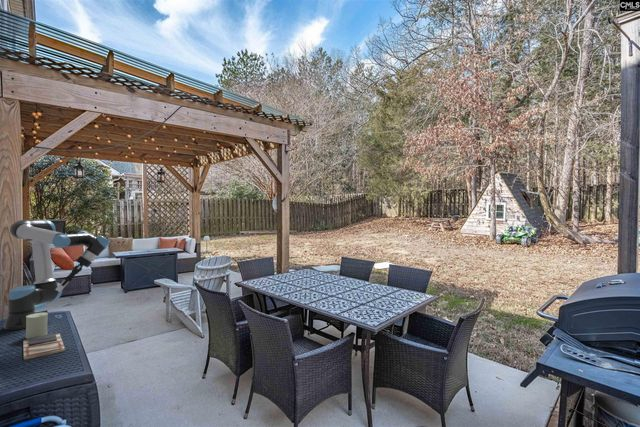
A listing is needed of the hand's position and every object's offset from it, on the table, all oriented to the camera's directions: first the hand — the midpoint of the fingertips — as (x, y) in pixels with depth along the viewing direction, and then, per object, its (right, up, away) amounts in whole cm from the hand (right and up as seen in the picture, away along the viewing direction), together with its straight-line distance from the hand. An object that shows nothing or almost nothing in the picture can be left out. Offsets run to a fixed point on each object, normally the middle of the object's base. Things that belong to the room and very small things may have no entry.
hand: (58, 289), depth 182 cm
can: (-8, -25, -5) cm, 26 cm away
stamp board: (+9, -24, -20) cm, 33 cm away
